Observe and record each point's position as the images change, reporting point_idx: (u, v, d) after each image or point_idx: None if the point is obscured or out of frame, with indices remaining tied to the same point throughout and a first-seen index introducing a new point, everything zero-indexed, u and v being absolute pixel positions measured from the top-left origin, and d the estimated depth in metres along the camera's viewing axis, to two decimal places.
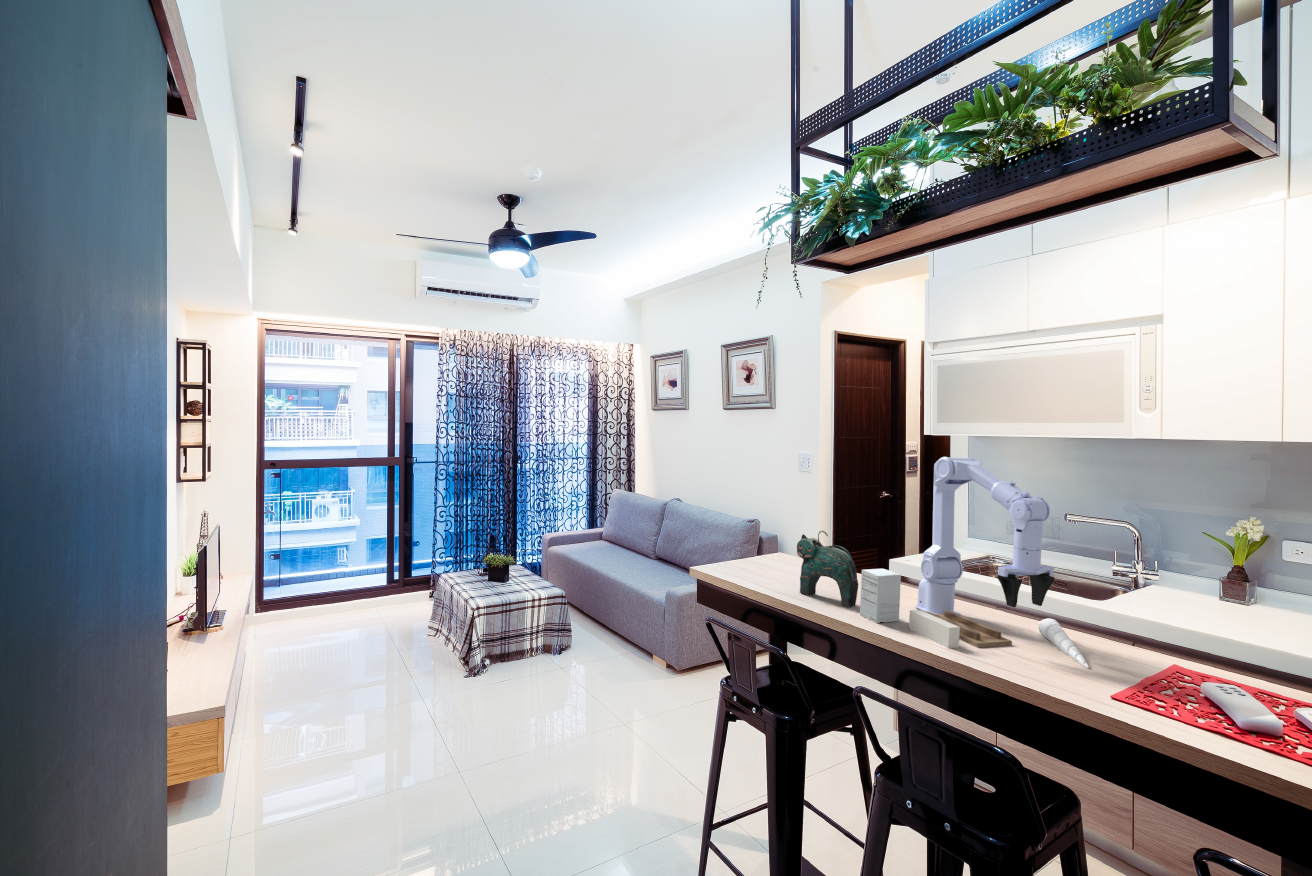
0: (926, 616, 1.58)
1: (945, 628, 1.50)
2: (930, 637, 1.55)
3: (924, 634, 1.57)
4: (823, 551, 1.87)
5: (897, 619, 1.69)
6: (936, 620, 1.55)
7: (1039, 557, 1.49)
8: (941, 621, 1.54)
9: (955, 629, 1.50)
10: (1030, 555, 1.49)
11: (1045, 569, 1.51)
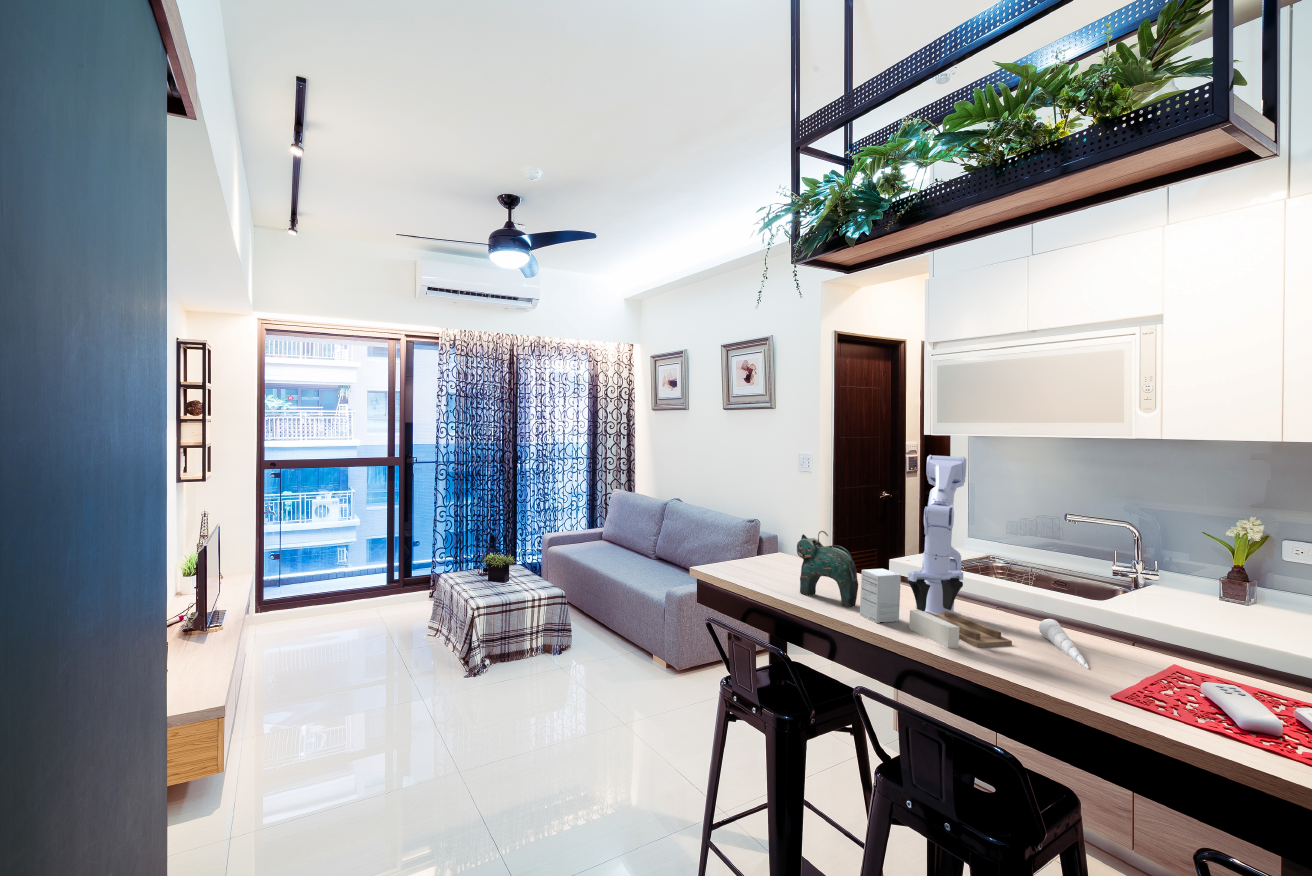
0: (926, 616, 1.58)
1: (945, 628, 1.50)
2: (930, 637, 1.55)
3: (924, 634, 1.57)
4: (823, 551, 1.87)
5: (897, 619, 1.69)
6: (936, 620, 1.55)
7: (947, 563, 1.54)
8: (941, 621, 1.54)
9: (955, 629, 1.50)
10: (938, 560, 1.53)
11: (954, 574, 1.55)
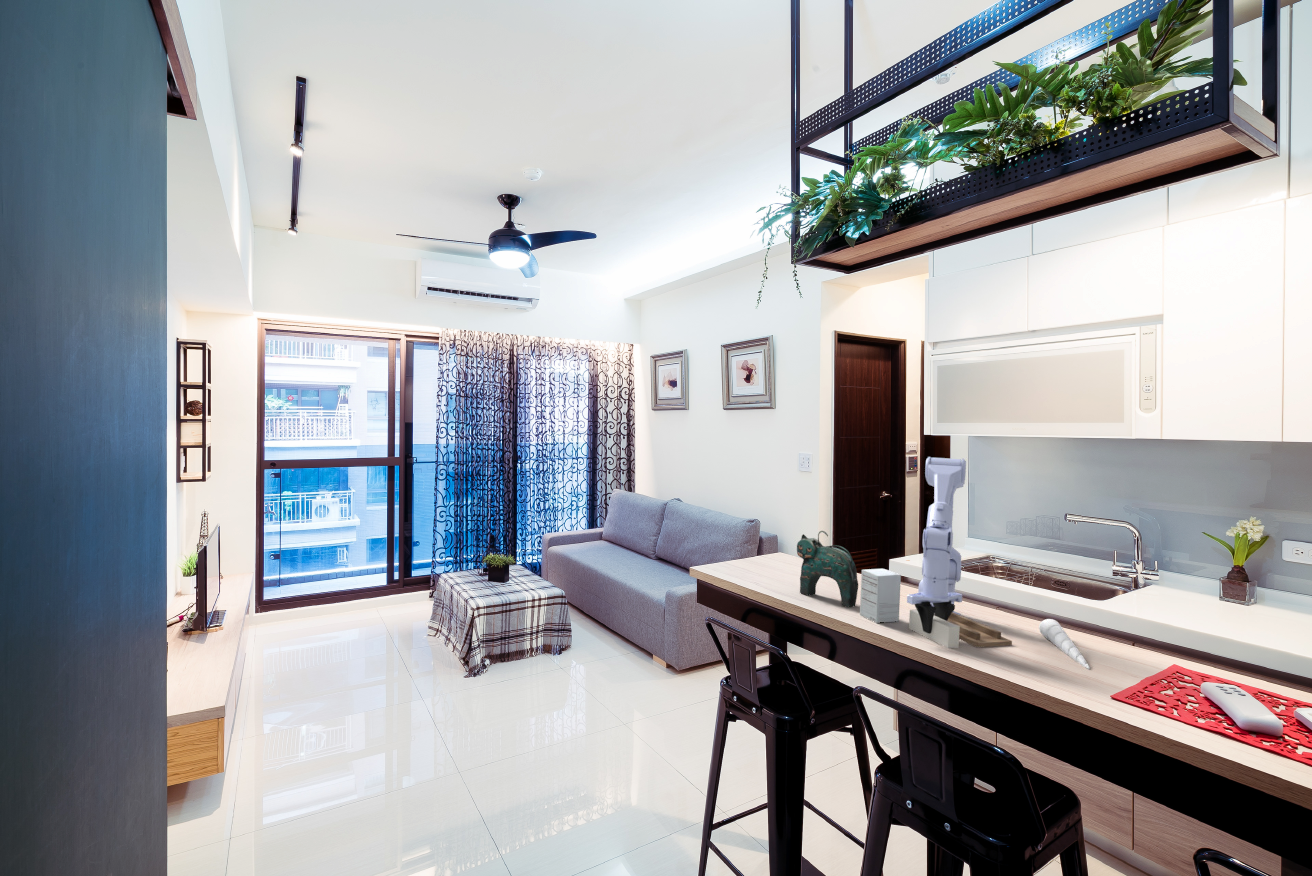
0: None
1: (945, 628, 1.50)
2: (930, 636, 1.55)
3: (924, 633, 1.57)
4: (823, 551, 1.87)
5: (897, 619, 1.69)
6: (936, 619, 1.55)
7: (946, 585, 1.54)
8: (941, 620, 1.54)
9: (955, 628, 1.50)
10: (937, 583, 1.54)
11: (953, 597, 1.56)
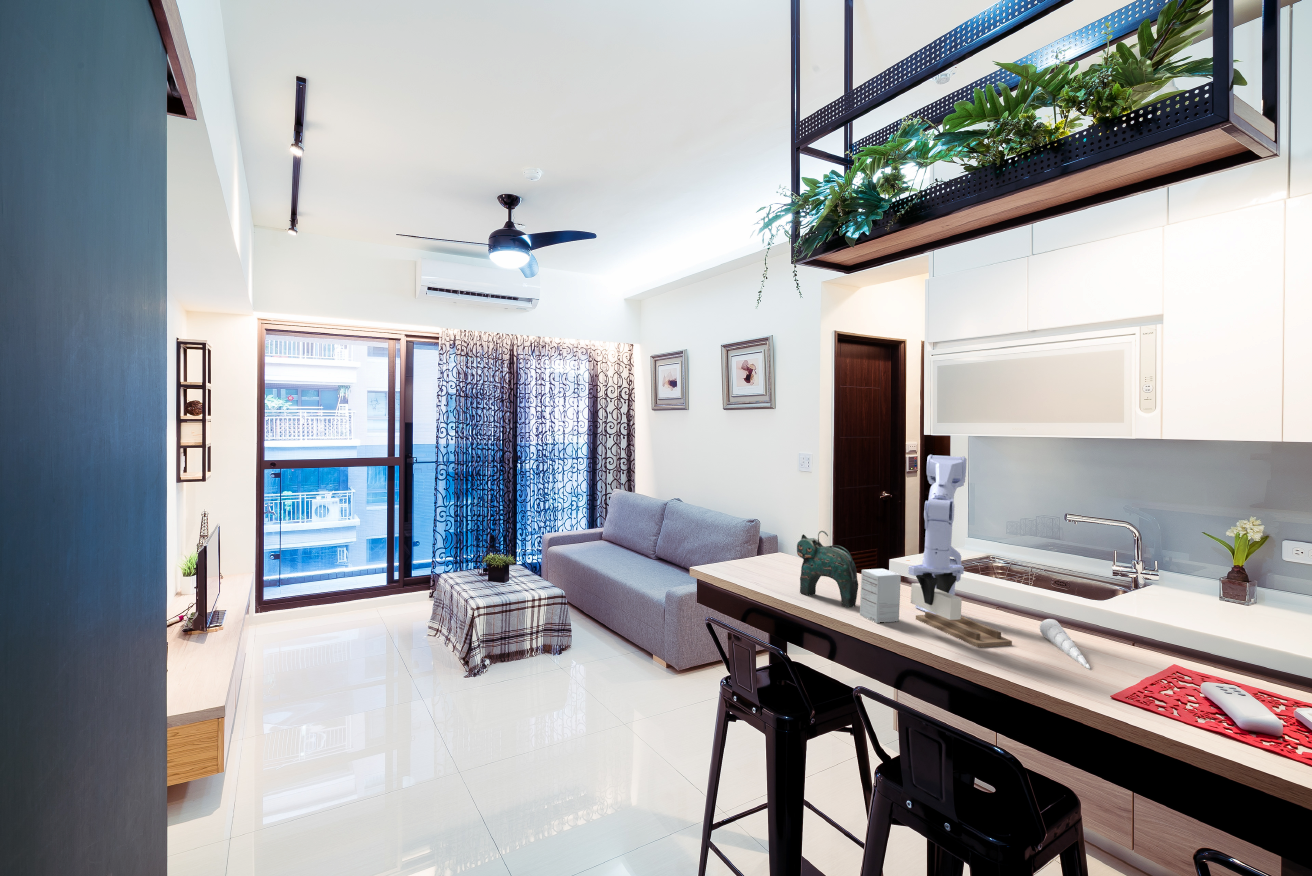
0: None
1: (947, 600, 1.50)
2: (932, 609, 1.55)
3: (926, 606, 1.57)
4: (823, 551, 1.87)
5: (897, 619, 1.69)
6: (938, 592, 1.55)
7: (947, 557, 1.54)
8: (943, 593, 1.54)
9: (957, 600, 1.50)
10: (939, 554, 1.53)
11: (954, 568, 1.56)
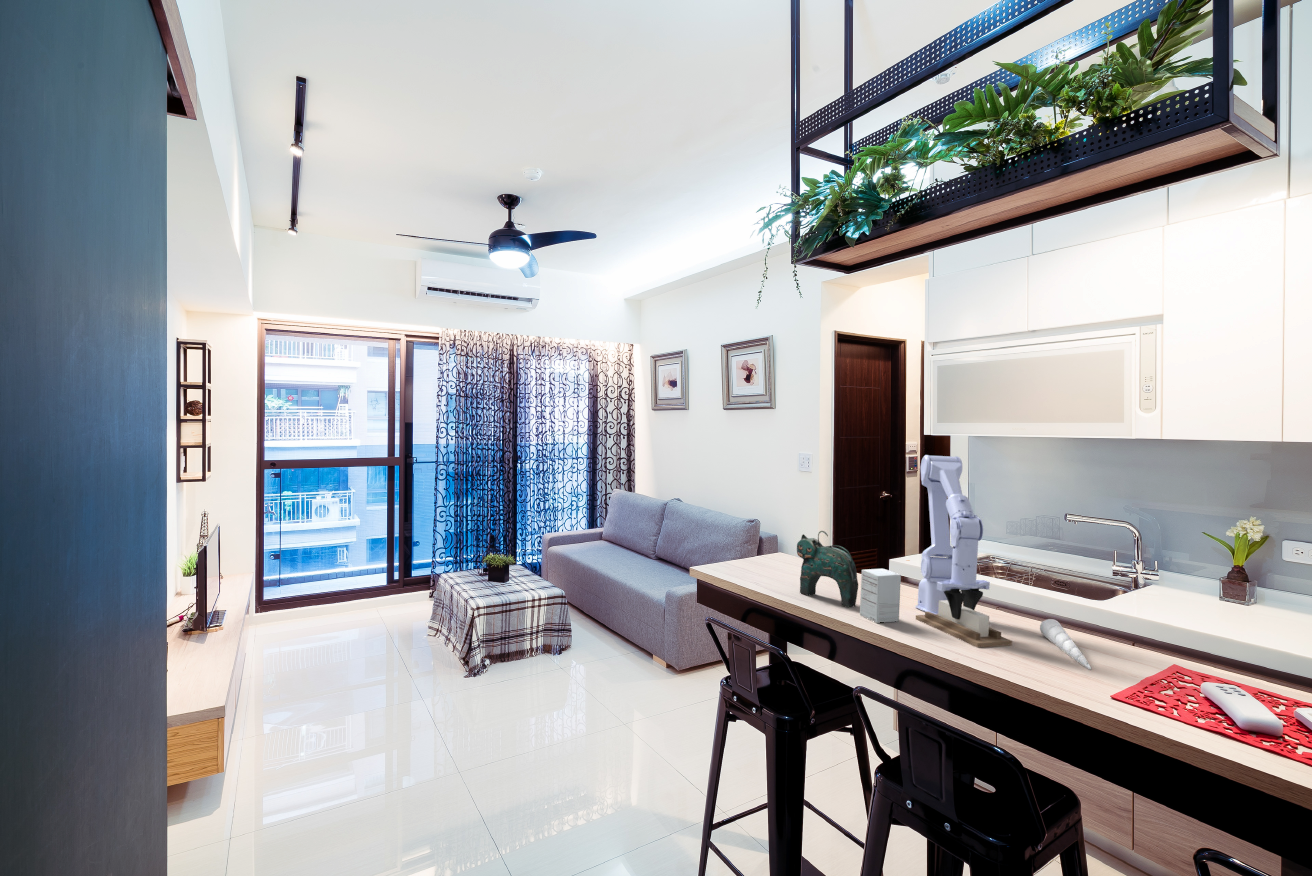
0: None
1: (975, 617, 1.56)
2: None
3: None
4: (823, 551, 1.87)
5: (897, 619, 1.69)
6: (966, 610, 1.60)
7: (974, 573, 1.60)
8: (971, 610, 1.60)
9: (985, 618, 1.56)
10: (966, 571, 1.59)
11: (981, 584, 1.62)
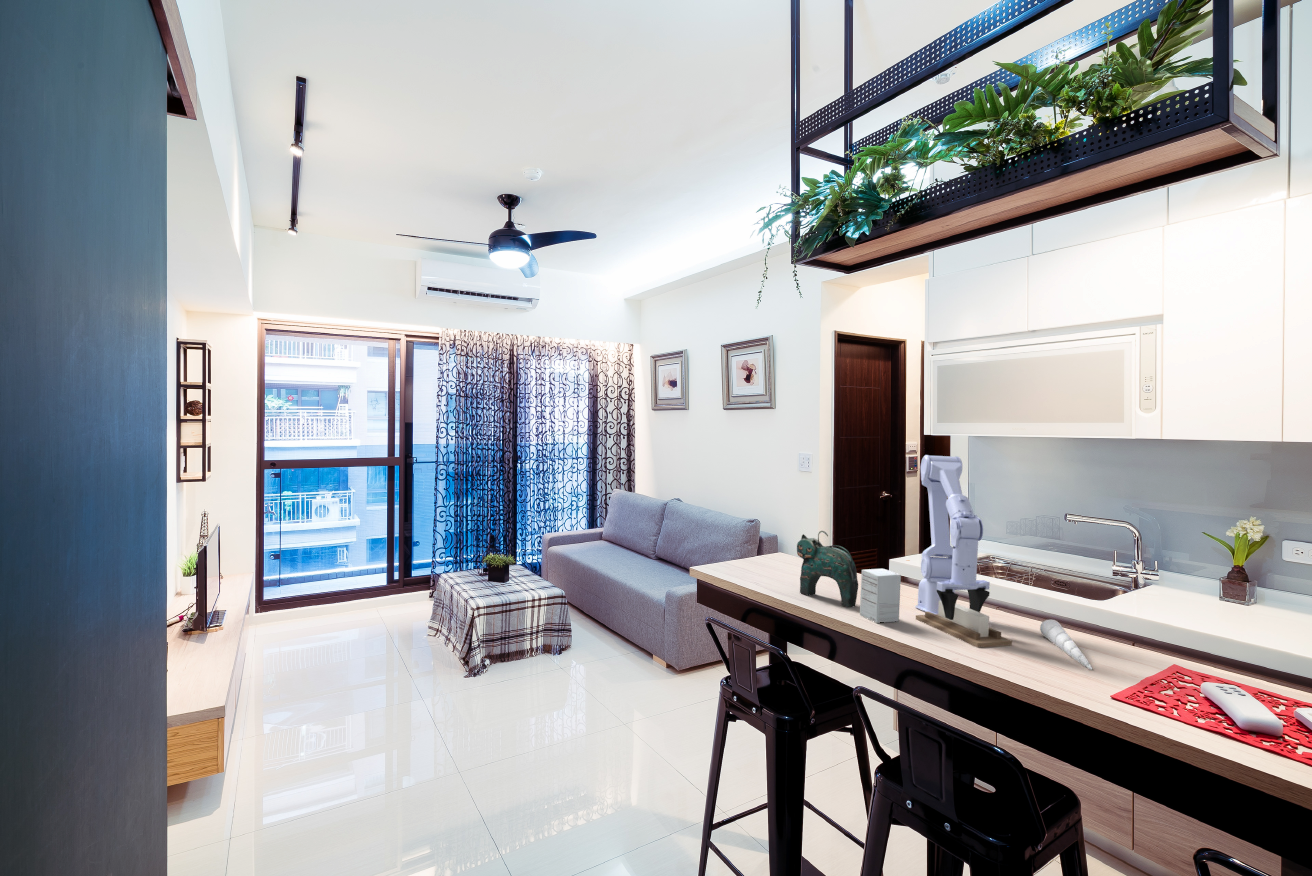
0: (955, 606, 1.64)
1: (975, 618, 1.56)
2: None
3: None
4: (823, 551, 1.87)
5: (897, 619, 1.69)
6: (966, 610, 1.60)
7: (974, 573, 1.60)
8: (970, 611, 1.60)
9: (985, 618, 1.56)
10: (966, 571, 1.59)
11: (981, 584, 1.62)
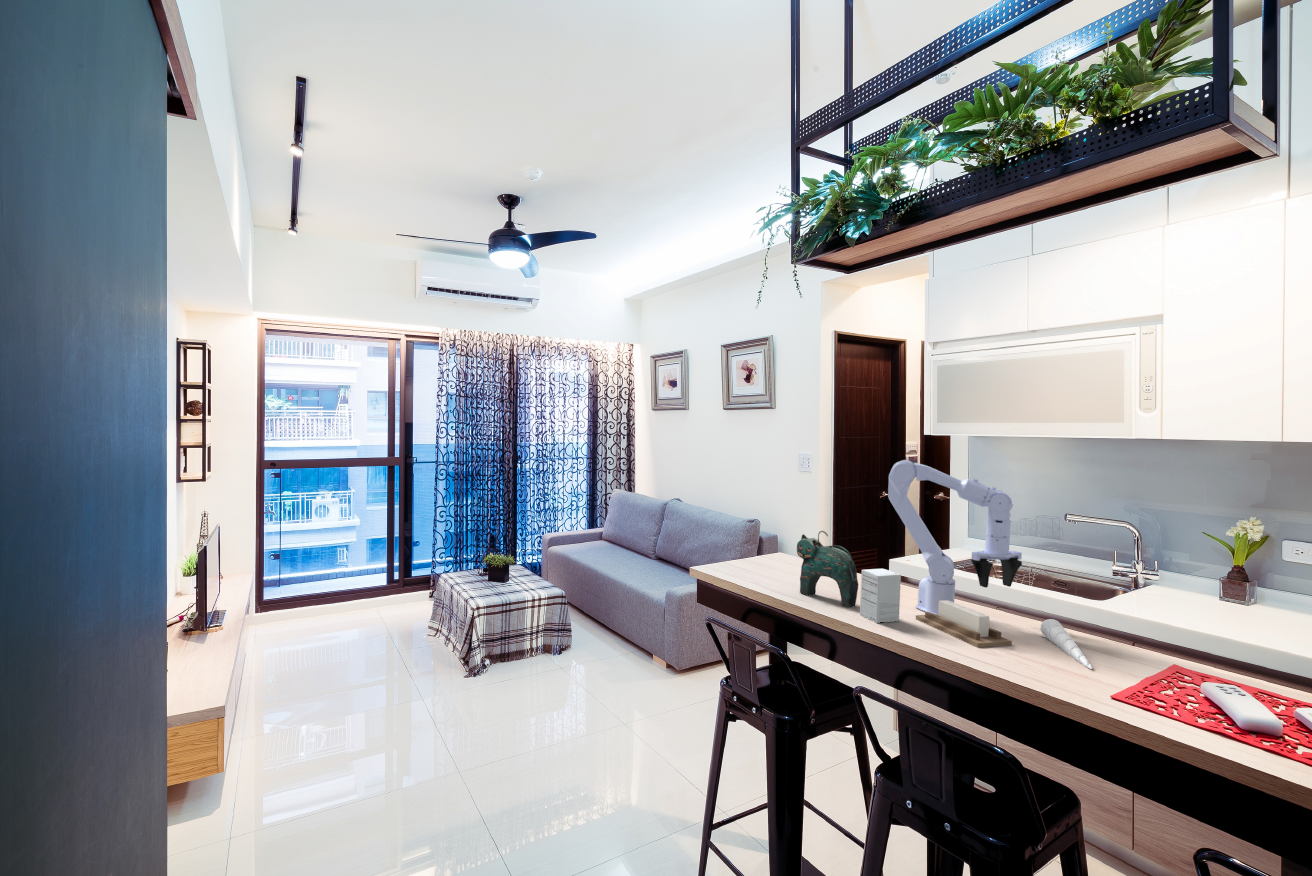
0: (955, 606, 1.64)
1: (975, 618, 1.56)
2: None
3: None
4: (823, 551, 1.87)
5: (897, 619, 1.69)
6: (966, 610, 1.60)
7: (1007, 543, 1.70)
8: (970, 611, 1.60)
9: (985, 618, 1.56)
10: (1000, 541, 1.70)
11: (1013, 554, 1.72)
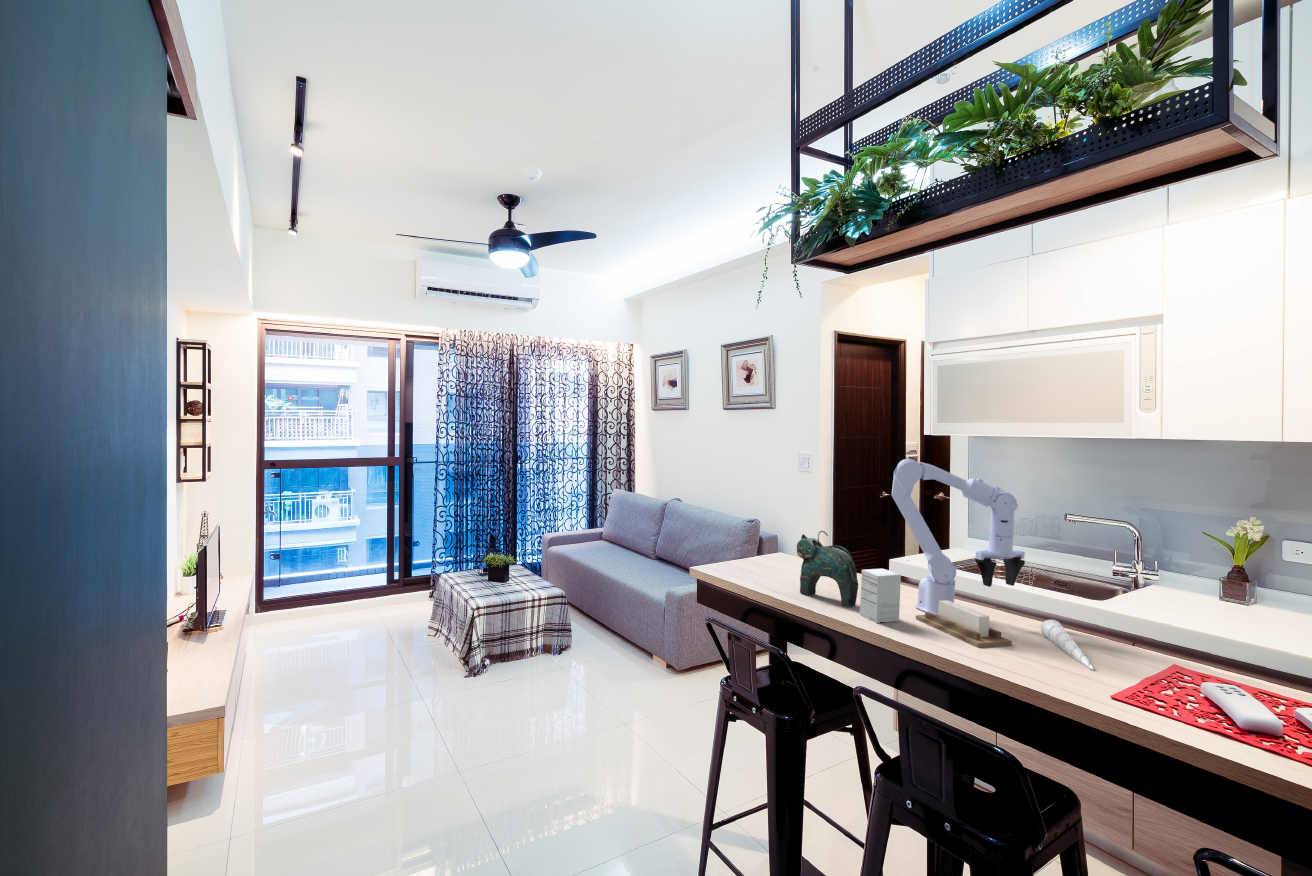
0: (955, 606, 1.64)
1: (975, 618, 1.56)
2: None
3: None
4: (823, 551, 1.87)
5: (897, 619, 1.69)
6: (966, 610, 1.60)
7: (1011, 543, 1.71)
8: (970, 611, 1.60)
9: (985, 618, 1.56)
10: (1004, 541, 1.71)
11: (1016, 553, 1.73)
